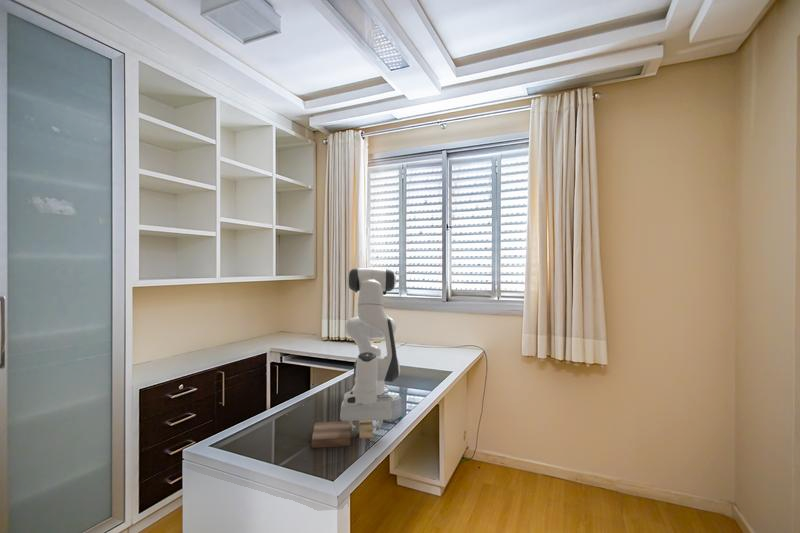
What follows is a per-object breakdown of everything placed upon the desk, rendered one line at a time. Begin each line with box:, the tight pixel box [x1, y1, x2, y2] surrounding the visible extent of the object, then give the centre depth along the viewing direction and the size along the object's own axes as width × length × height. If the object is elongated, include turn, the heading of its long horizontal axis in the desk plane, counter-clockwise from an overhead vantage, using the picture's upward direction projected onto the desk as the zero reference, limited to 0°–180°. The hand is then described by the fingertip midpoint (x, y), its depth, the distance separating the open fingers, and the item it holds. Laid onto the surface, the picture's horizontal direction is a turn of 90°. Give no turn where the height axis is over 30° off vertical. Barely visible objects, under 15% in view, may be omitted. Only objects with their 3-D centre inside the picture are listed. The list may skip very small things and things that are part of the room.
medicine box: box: [384, 394, 403, 423], centre depth 161 cm, size 8×4×9 cm, turn 141°
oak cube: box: [358, 420, 374, 439], centre depth 146 cm, size 5×5×5 cm
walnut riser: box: [311, 421, 352, 449], centre depth 143 cm, size 14×14×3 cm
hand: (365, 430), depth 146 cm, fingers open, 8 cm apart
